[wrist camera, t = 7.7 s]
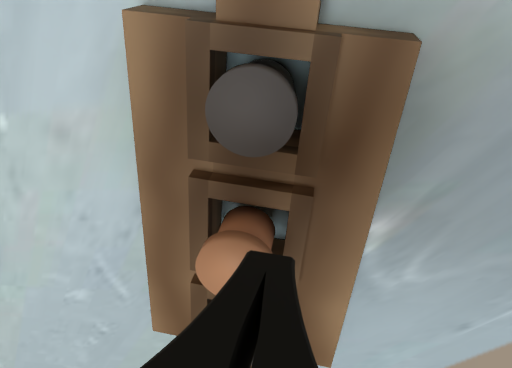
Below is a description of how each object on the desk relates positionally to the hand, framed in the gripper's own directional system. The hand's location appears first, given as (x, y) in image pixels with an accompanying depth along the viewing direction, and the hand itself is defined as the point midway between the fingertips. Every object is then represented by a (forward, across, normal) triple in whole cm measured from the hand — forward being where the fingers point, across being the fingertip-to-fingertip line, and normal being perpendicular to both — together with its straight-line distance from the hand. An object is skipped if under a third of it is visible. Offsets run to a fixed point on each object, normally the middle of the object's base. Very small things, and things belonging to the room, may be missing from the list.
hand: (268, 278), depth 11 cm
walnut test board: (+10, +2, +4) cm, 11 cm away
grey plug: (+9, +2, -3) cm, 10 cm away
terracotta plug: (+8, +2, +4) cm, 9 cm away
